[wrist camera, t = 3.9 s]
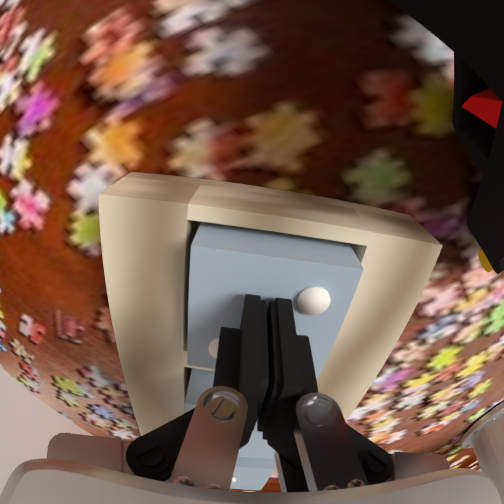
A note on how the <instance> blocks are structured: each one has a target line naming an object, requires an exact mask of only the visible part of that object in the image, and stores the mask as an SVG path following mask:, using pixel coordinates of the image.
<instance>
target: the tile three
mask: <svg viewBox="0 0 504 504" xmlns="http://www.w3.org/2000/svg"><path fill="white" fill-rule="evenodd" d="M363 270H364V269H363V267H362V265H361V263H360V262H359V260H358V258H357V256H356V254H355V253H354V251H353V249H352V247H351V246H350V244H349V243H346V242H340V241H333V240H327V239H320V238H314V237H307V236H301V235H294V234H287V233H281V232H274V231H267V230H260V229H253V228H246V227H238V226H231V225H224V224H216V223H209V222H201V224H200V226H199V228H198V230H197V233H196V235H195V237H194V240H193V242H192V244H191V254H190V274H189V300H188V355H187V365H191V366H198V367H204V368H211V369H215V366H216V358H217V351H218V343H219V336H220V329H221V327H229V328H237V329H240V324H241V318H242V312H243V306H244V300H245V294H252V295H260V296H261V300H266V313H267V311H268V306H269V302H270V301H275V299H276V298H285V299H291V300H292V306H293V313H294V320H295V326H296V333H297V335H306V336H308V337H309V341H310V346H311V352H312V357H313V363H314V368H315V374H316V378H318V377H319V375H320V373H321V371H322V369H323V367H324V365H325V363H326V360H327V358H328V356H329V354H330V352H331V349H332V347H333V345H334V343H335V340H336V338H337V336H338V333H339V331H340V329H341V326H342V324H343V321H344V319H345V317H346V314H347V312H348V309H349V307H350V304H351V302H352V299H353V296H354V294H355V291H356V289H357V286H358V283H359V281H360V278H361V275H362V272H363Z"/></svg>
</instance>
